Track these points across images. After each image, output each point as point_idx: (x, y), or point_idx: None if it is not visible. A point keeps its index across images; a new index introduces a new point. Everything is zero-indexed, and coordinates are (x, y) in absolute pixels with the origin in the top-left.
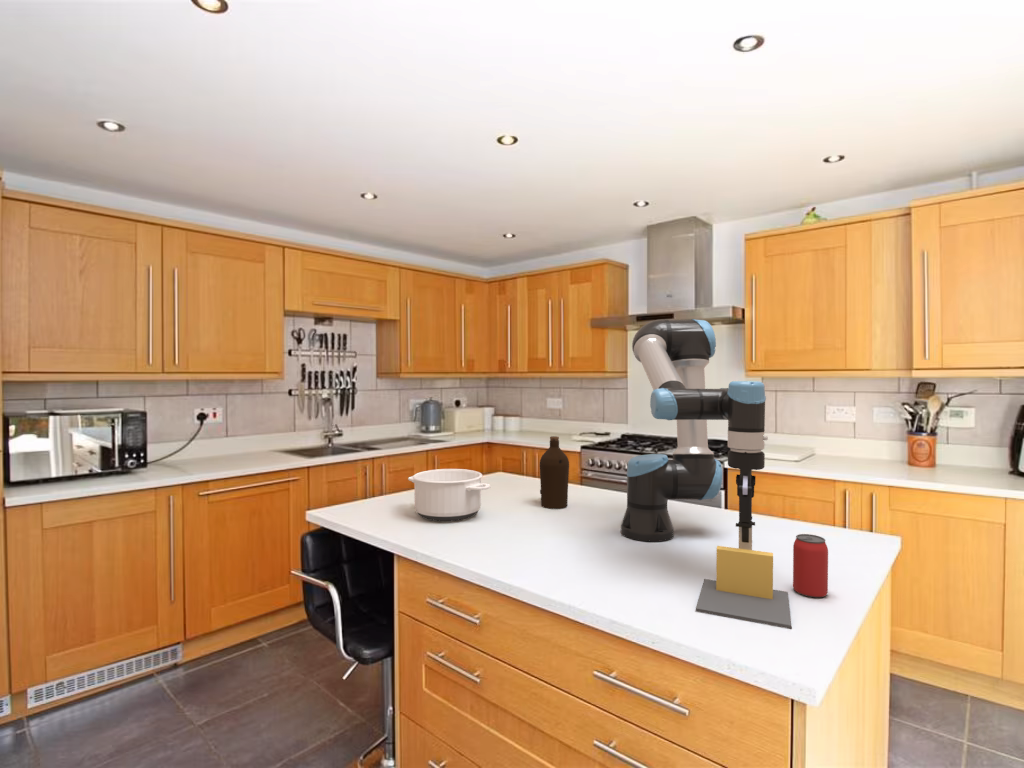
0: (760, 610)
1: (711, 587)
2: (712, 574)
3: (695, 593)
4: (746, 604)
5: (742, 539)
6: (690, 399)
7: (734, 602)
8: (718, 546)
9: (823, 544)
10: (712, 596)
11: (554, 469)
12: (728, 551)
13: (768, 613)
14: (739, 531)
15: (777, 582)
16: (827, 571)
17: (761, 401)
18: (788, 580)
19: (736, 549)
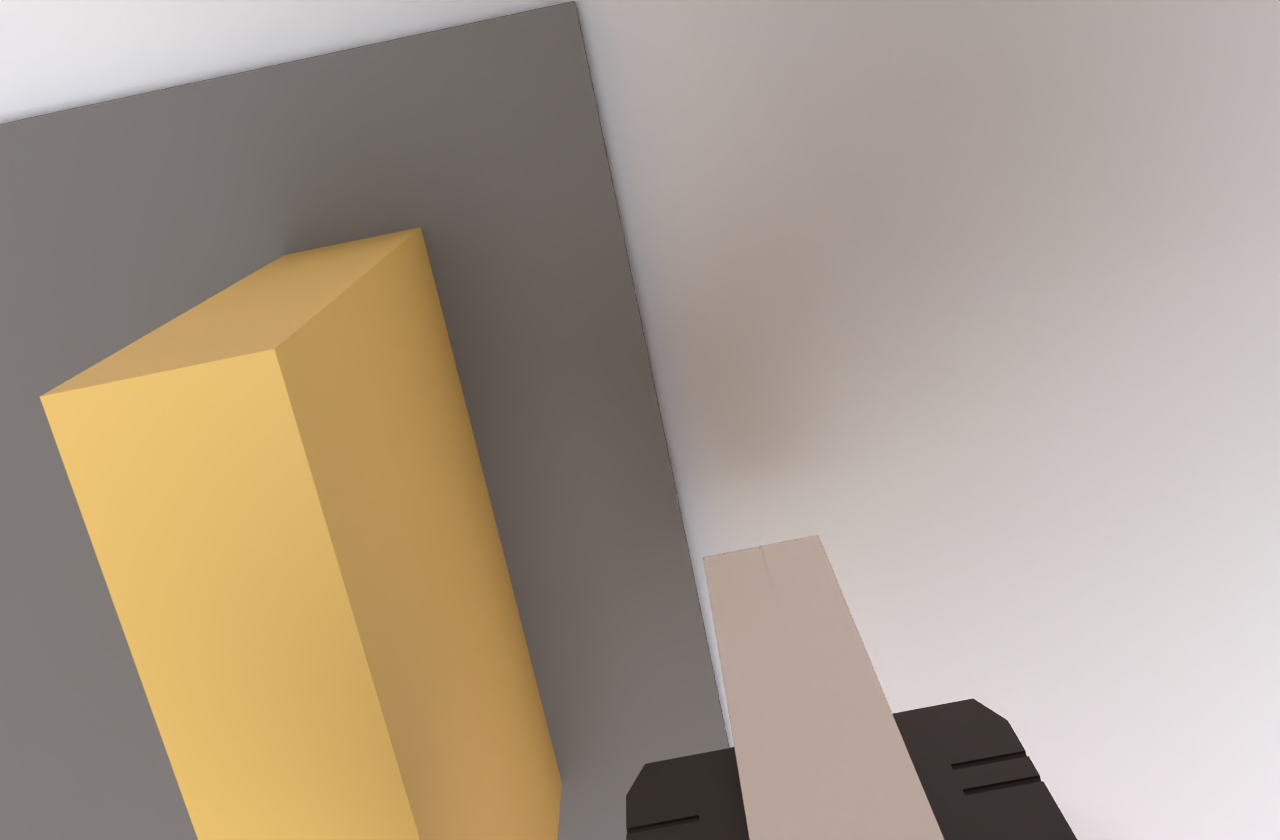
0: (69, 768)
1: (326, 180)
2: (904, 18)
3: (99, 37)
4: (113, 632)
5: (629, 814)
6: None
7: (75, 520)
8: (229, 384)
9: None
10: (56, 274)
11: None
12: (125, 604)
13: (55, 838)
14: (747, 820)
15: (1061, 724)
16: None
17: None
18: (1190, 801)
19: (287, 716)
